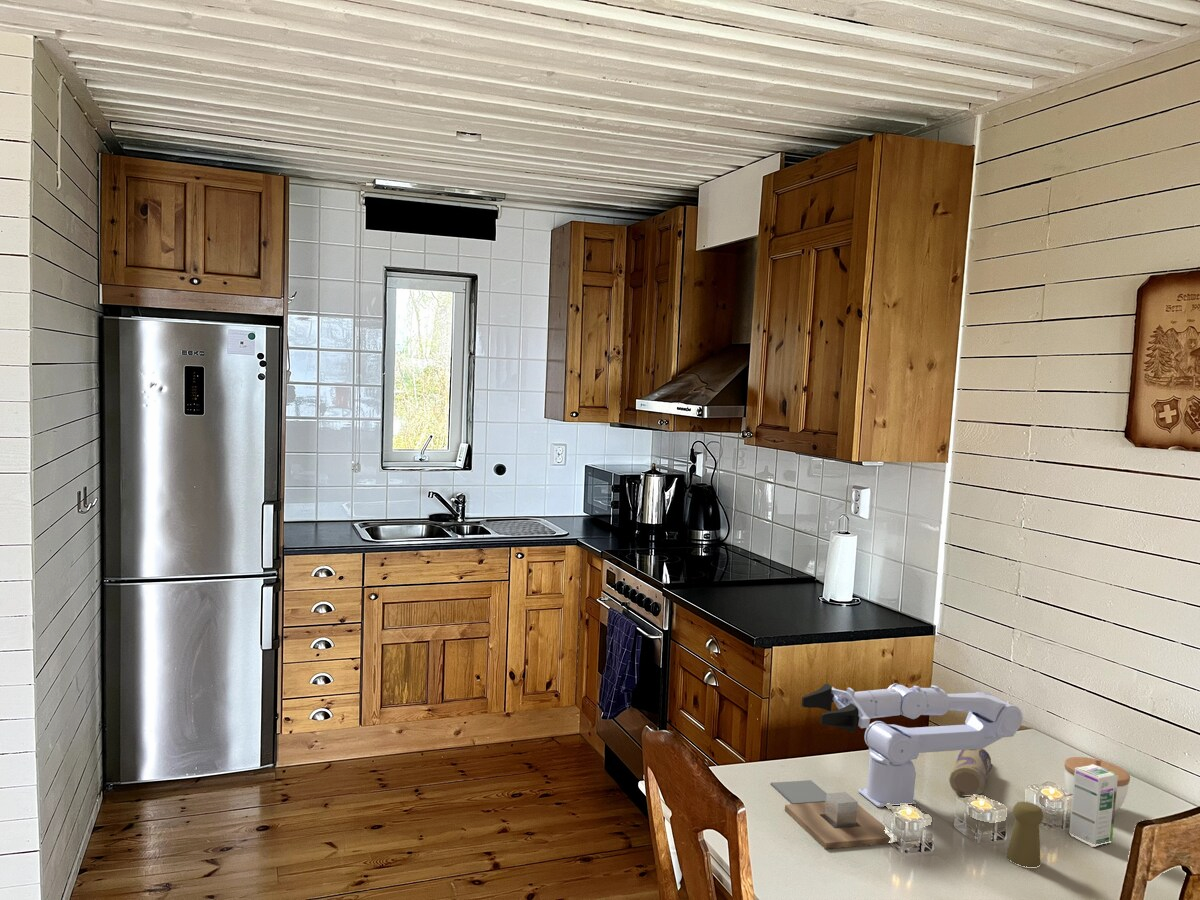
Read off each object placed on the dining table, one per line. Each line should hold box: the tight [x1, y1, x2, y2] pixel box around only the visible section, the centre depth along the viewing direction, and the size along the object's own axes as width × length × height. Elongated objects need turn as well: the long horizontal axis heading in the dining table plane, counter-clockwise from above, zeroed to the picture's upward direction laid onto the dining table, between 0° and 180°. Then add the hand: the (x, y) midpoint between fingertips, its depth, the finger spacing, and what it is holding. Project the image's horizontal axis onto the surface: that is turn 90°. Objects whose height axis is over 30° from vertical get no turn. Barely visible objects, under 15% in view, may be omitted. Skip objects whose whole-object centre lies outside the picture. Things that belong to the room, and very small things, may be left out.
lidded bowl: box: [1063, 756, 1131, 811], centre depth 198 cm, size 13×13×11 cm
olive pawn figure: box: [1005, 801, 1044, 867], centre depth 172 cm, size 6×6×11 cm
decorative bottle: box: [948, 748, 993, 796], centre depth 211 cm, size 26×8×7 cm, turn 151°
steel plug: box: [824, 791, 859, 829], centre depth 181 cm, size 4×4×6 cm
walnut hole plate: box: [784, 802, 890, 850], centre depth 181 cm, size 16×16×1 cm
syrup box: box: [1068, 764, 1118, 845], centre depth 183 cm, size 6×6×14 cm
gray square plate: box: [770, 779, 828, 804], centre depth 196 cm, size 10×10×1 cm
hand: (811, 710), depth 189 cm, fingers open, 7 cm apart
